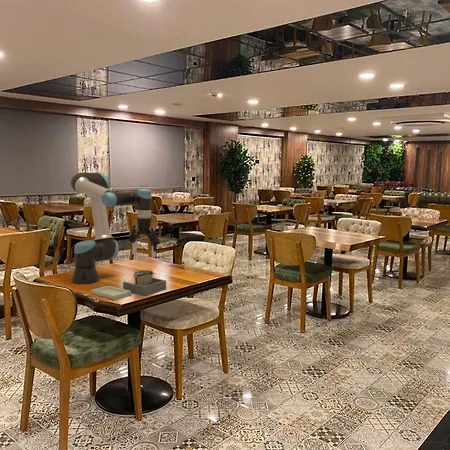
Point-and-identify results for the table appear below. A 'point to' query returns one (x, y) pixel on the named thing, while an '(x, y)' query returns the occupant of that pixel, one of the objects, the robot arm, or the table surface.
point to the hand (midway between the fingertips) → (143, 255)
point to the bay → (146, 287)
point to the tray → (111, 292)
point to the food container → (143, 277)
